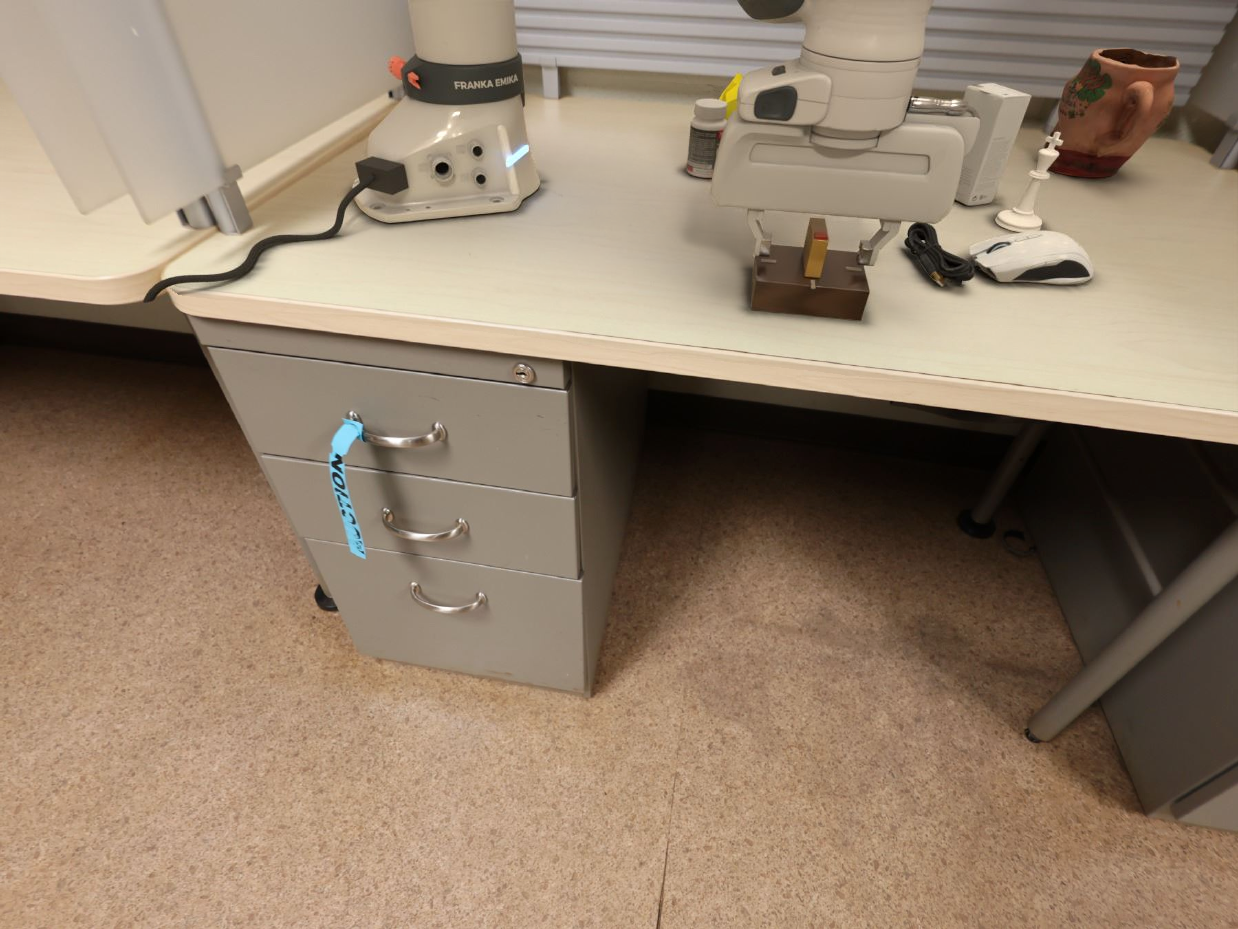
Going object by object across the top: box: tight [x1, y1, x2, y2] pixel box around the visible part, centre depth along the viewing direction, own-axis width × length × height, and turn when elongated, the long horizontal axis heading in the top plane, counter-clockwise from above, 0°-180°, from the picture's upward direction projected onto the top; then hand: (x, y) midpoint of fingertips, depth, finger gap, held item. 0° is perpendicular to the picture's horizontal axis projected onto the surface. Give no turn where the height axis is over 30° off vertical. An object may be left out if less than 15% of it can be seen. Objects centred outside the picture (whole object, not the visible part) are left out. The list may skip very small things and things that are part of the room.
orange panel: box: [802, 216, 830, 278], centre depth 60 cm, size 5×1×4 cm, turn 171°
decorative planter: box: [1043, 47, 1181, 178], centre depth 86 cm, size 20×12×14 cm, turn 172°
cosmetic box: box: [954, 82, 1032, 207], centre depth 79 cm, size 6×4×12 cm
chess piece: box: [994, 132, 1063, 233], centre depth 74 cm, size 5×5×10 cm
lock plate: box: [750, 244, 871, 322], centre depth 63 cm, size 10×9×3 cm
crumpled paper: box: [718, 71, 744, 103], centre depth 100 cm, size 6×8×8 cm
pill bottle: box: [686, 98, 727, 179], centre depth 85 cm, size 5×5×8 cm
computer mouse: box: [903, 222, 1095, 288], centre depth 67 cm, size 10×18×4 cm, turn 93°
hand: (812, 258), depth 61 cm, fingers open, 8 cm apart
